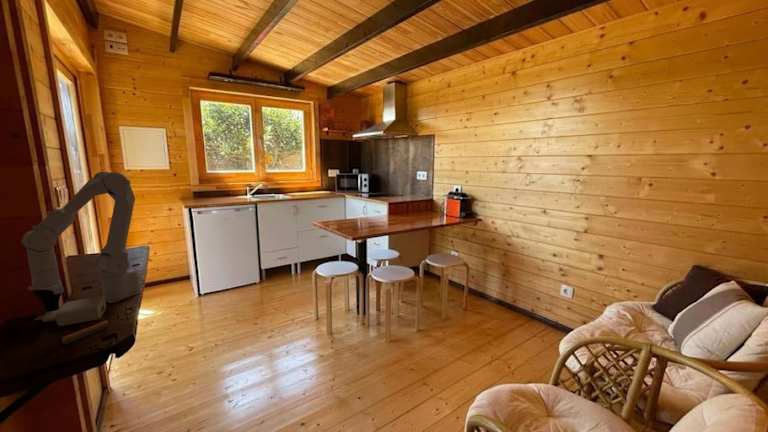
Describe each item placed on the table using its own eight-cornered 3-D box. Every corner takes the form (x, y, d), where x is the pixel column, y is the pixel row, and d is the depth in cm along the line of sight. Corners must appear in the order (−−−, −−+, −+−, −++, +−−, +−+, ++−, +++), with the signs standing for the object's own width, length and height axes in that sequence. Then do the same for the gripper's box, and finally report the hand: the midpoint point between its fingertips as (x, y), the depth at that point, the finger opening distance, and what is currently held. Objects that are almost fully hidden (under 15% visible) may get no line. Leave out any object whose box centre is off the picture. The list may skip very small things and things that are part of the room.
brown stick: (107, 326, 95) (106, 320, 94) (109, 326, 94) (108, 321, 94) (62, 343, 86) (61, 337, 85) (65, 344, 85) (63, 338, 85)
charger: (43, 319, 99) (106, 308, 106) (30, 333, 91) (99, 320, 98) (40, 304, 98) (104, 294, 105) (27, 317, 90) (97, 306, 97)
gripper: (14, 269, 96) (23, 311, 98) (37, 277, 90) (46, 322, 93) (46, 262, 102) (53, 302, 105) (69, 269, 97) (77, 311, 99)
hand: (52, 311), depth 99 cm, fingers closed
